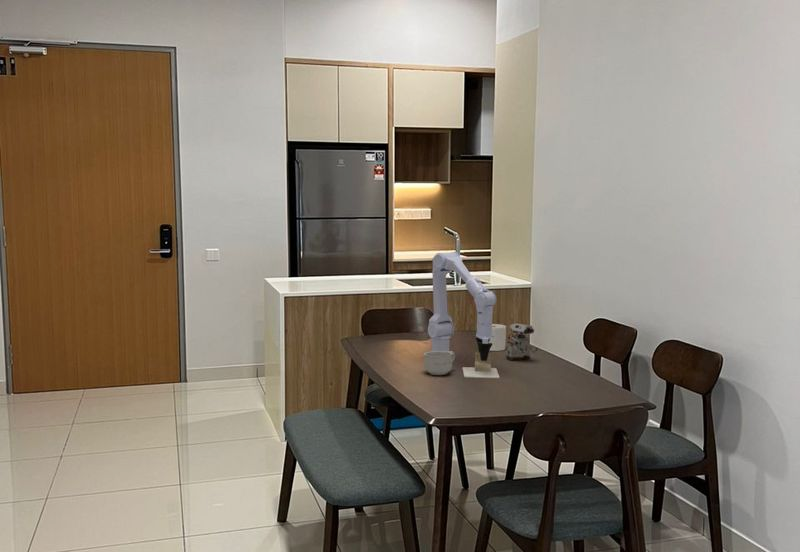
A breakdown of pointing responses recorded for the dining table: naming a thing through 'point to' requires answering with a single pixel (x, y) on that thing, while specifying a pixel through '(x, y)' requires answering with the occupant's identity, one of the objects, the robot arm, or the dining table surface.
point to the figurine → (519, 341)
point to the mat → (479, 373)
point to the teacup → (438, 362)
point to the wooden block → (482, 363)
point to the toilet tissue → (498, 337)
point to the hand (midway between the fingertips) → (483, 358)
